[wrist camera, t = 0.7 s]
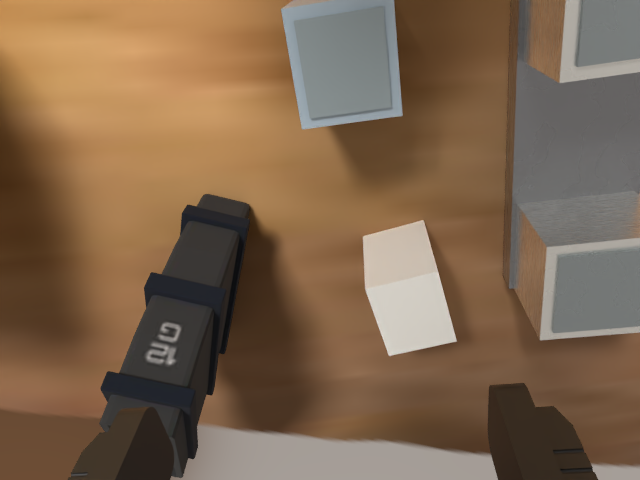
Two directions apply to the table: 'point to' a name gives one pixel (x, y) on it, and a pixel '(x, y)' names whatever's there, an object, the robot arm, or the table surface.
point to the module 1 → (343, 60)
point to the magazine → (184, 325)
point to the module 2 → (406, 289)
